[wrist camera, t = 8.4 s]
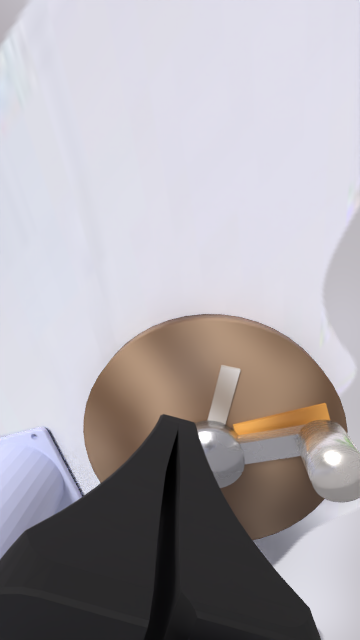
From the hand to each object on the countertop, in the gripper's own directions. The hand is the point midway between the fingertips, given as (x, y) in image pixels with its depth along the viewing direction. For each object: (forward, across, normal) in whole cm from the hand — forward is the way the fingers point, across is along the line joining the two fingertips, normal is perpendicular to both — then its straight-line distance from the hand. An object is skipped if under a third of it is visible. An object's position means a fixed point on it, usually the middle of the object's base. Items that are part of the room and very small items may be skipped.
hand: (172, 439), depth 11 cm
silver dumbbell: (+7, -6, +4) cm, 10 cm away
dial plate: (+9, -3, +6) cm, 11 cm away
